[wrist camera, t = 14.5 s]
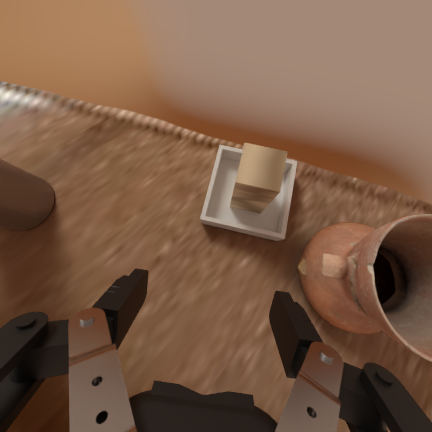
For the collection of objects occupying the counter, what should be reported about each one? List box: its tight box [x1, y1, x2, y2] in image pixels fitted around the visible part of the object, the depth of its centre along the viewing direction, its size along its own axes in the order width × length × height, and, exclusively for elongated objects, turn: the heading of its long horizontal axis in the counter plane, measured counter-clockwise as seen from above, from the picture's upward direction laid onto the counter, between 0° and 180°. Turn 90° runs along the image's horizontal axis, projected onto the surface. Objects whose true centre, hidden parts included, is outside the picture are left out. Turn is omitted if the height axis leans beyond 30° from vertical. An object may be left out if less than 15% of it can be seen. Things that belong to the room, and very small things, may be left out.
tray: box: [200, 145, 297, 241], centre depth 31 cm, size 12×12×4 cm
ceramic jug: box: [297, 214, 432, 362], centre depth 23 cm, size 18×14×14 cm
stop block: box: [230, 143, 287, 214], centre depth 27 cm, size 5×5×10 cm
